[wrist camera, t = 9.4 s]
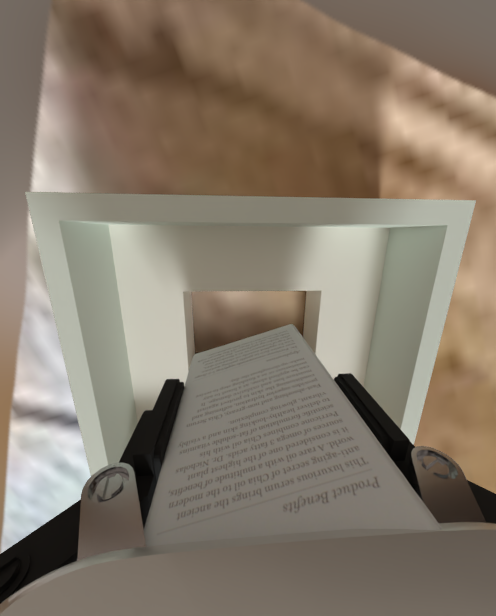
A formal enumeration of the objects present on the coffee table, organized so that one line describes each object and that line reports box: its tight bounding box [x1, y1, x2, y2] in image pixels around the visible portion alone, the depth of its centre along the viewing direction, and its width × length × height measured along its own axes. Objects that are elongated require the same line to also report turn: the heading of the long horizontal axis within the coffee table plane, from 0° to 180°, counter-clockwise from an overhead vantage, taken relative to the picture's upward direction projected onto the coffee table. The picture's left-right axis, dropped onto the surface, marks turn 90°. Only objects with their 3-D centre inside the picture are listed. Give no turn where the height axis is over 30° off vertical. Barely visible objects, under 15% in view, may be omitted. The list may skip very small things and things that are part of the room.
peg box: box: [25, 192, 476, 476], centre depth 16 cm, size 18×18×7 cm
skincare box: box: [144, 324, 442, 547], centre depth 9 cm, size 6×4×12 cm
